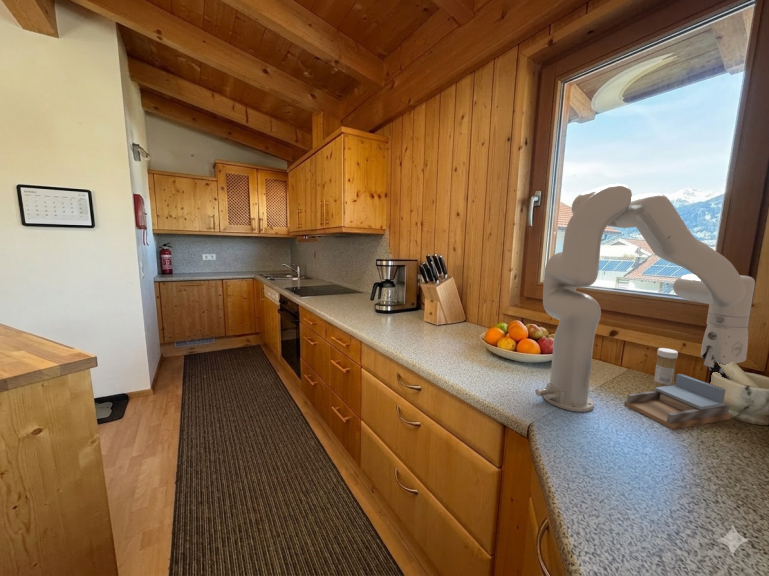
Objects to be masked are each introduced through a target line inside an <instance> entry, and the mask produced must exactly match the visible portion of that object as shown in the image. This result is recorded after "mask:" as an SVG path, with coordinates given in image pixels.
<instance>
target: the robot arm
mask: <svg viewBox="0 0 769 576" xmlns="http://www.w3.org/2000/svg"><path fill="white" fill-rule="evenodd" d="M571 213H572V216H571V217H570V219H569V221H568V223H567V226H566V227H565V232H564V236H563V237H564V238H563V245H562V251H560V252H557V253H555V254H553V255H552V256H551V257H550V258H549V259H548V261H547V262H546V264H545V266H544V271H543V273H544V274H543V287H542V289H543V290H542V305H543V308H544V310H545V312H546V314H547V315H548V316H550V317H551V318H554V319H555V320H558V321H559V322H558V324H557V325H558V326H557V327H556V329H555V332H554V335H553V344H552V358H551V369H550V379H549V380H550V381H549V382H547V383H546V386H545V387H544V388H537V389H535V391H534V392H535V395H536V396H537V397H543V399H544V400H546V402H547V403H549V404H551V405H553V406H555V407H557V408H559V409H563V410H565V409H566V411H570V412H576V413H577V412H579V413H581V412H582V413H585V412H589V411H591V410H593V409H594V408H595V407H594V406H595V402H594V400H593V399H592V398H591V397H589V389H590V380H591V371H592V362H593V361H592V359H593V354H594V353H593V352H594V343H595V336H596V332H597V329H598V326H599V324H600V320H601V315H602V311H601V310H602V308H601V306H600V304H599V302H598V301H597V300H596V299H595V298H594V297H592V296H591V295H589V294H587V293H584V292H581V291H577V288H581V289H582V288H588V287H590V286H592V285H593V284H594V283H596V281H597V278H598V276H599V269H600V268H599V267H600V259H601V258H600V256H601V255H600V254H601V244H602V243H601V242H602V237H603V234H604V232H605V230H606V229H607V227H611V228H621V229H622V228H623V229H628V228H636V229H637V231H638V232H639V233H640V235H641V236H642V237H643V239H644V241H645V242H646V244H647V245H648V246H649V249H651V251H652V252H653V254H654V255H655V256H657V257H658V258H660V259H663V260H664V261H666V262H669V263H671V264H674V265H677V266H679V267H682V268H683V269H685V270H687V271H688V272H690V273H687V274H684V275H681V276H680V277H678V278H676V280H674V282H673V286H672V288H673V289H672V290H673V292H674V293H675V295H677V296H678V297H679V298H681V299H683V300H686V301H689V302H695V303H700V304H701V303H702V304H706V305H708V310H707V318H706V324H707V326H706V328H705V331H704V334H703V339H702V342H701V343H702V344H701V348H700V350H701V351H700V357H701V359H703V360H704V362H703V365H704V366H706V367H708V370H709V373H708V374H709V375H708V380H707V381H708V382H707V383H709V384H710V382H711V375H712V373H713V372H718V373H720V374H721V375H722V377H724V378H727V377H726V375H725V373H724V372H723V371H722V369H721V367H720V366H719V365H718V363H717V362H719V364H722V365H726V364H729V363H730V362H732V361H733V362H734V363H736V364H740V363H744V362H745V361H746V360H747V357H748V347H749V329H748V327H749V323H750V316H751V309H752V304H753V299H754V298H753V297H754V292H755V285H756V281H755V279H754V278H753V277H752V276H749V275H741V274H739V272H738V270H737V269H736V268H735V266H734V265H733V263H732V262H731V261H730V260H729V259H727V258H726V257H725V256H724V255H723V254H722V253H719V252H718V251H716V250H714V249H713V248H712V247H710V246H708V245H707V244H706V243H704V242H702V241H701V240H699V239H697V238H696V237H695V236H694V235H693V234H692V232H691V231H690V228H688V226H687V225H686V223H685V221H684V220H683V219H682V217H681V215H680V213H679V212H678V211H677V209H676V208H675V206H674V204H673V203H672V202H671V200H670V199H669V198H668V197H667V196H666V195H664V194H661V193H657V192H655V193H654V192H653V193H645V194H640V195H636V196H635V195H634V196H633V192H632V190H631V188H629V187H628V186H627V185H626V184H620V183H615V184H608V185H603V186H601V187H597V188H595V189H591V190H587V191H584V192H582V193H580V194H579V195H578V196H576V197H575V198H574V200H573V202H572V203H571ZM714 359H715V360H714Z"/></svg>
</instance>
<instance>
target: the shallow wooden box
mask: <svg viewBox="0 0 769 576" xmlns="http://www.w3.org/2000/svg"><path fill="white" fill-rule="evenodd" d="M624 406H625V407H627V408H630V409H632V410H634V411H636V412H638V413H640V414H642V415H643V416H645V417H647V418H649V419H651V420H652V421H655V422H657V423H659V424H661V425H663V426H665V427H667V428H668V429H670V430H678V429H682V428H683V429H684V428H688V427H689V428H690V427H694V426H695V427H696V426H700V425H701V426H702V425H705V424H711V423H717V422H722V421H727V420H731V419H732V418H731V417H732V414H730V413H729V410H730V405H729V404H726V403H725V406H721V407H715V408H709V409H702V410H700V409H698V408H696V407H693V406H691V405H688V404H686V403H684V402H681V401H679V400H677V399H674V398H672V397H670V396H667V395H665V394H663V393H660V392H658V391H654V390H651V391H645V392H637V393H629V394H627V399H626V400H625V401H624Z"/></svg>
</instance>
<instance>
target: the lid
mask: <svg viewBox="0 0 769 576" xmlns="http://www.w3.org/2000/svg"><path fill="white" fill-rule="evenodd" d="M675 377H676V378H675V384H673V385H671V386H663V387H656V388H655V390H656V391H658V392H660V393H663V394H665V395H667V396H670V397H672V398H674V399H677V400H679V401H681V402H684V403H686V404H688V405H691V406H693V407H696V408H698V409H700V410H702V409H709V408H715V407H721V406H725V404H726V402H724V400H725V395H726V388H724V387H719V386H716V385H713V384H710V383H709V382H706V381H702V380H699V379H697V378H695V377H691V376H688V375H686V374H682V373H677V374H676V376H675Z"/></svg>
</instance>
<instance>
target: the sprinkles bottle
mask: <svg viewBox="0 0 769 576" xmlns="http://www.w3.org/2000/svg"><path fill="white" fill-rule="evenodd" d="M656 355H657V359H656V365H655V371H654V378H653V380H654V381H653V386H652V391H656V390H655V388H656V387H663V386H671V385H674V382H675V377H676V375H675V372H676V365H677V359H678V356H679V352H678V351H677V350H676V349H671V348H666V347H659V348H658V349H657V353H656Z"/></svg>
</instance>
